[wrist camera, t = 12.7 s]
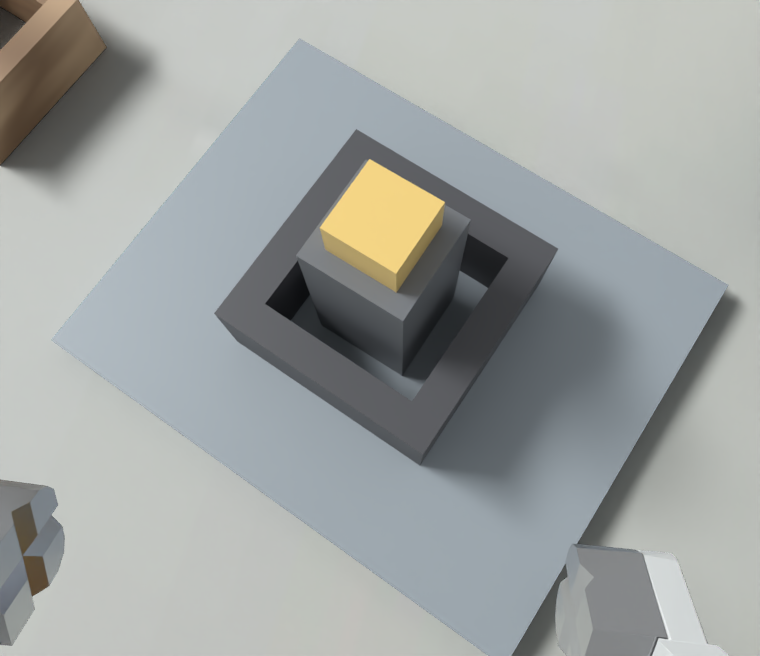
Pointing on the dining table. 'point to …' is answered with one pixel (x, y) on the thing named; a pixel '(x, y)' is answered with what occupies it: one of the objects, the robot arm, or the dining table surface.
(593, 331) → the port
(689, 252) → the dining table surface
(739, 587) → the dining table surface
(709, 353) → the dining table surface
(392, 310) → the plug
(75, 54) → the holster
